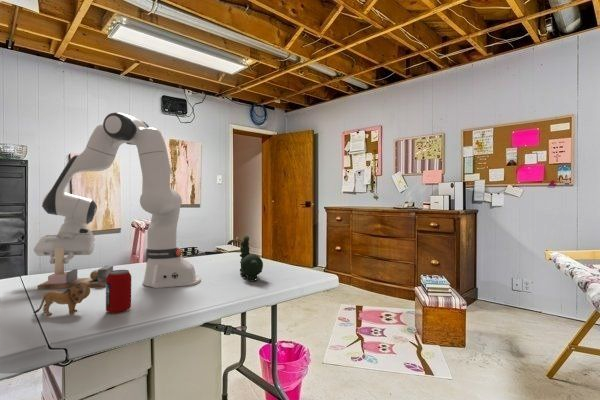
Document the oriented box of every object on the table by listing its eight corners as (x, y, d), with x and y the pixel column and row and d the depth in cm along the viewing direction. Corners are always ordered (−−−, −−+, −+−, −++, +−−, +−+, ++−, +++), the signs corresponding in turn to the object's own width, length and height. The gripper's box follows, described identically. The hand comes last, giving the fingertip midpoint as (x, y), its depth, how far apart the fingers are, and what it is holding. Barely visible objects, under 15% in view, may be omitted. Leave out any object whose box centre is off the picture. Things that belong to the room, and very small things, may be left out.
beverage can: (112, 307, 104) (112, 269, 104) (134, 307, 105) (135, 269, 105) (101, 314, 97) (101, 273, 98) (125, 314, 98) (125, 273, 98)
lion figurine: (92, 308, 103) (93, 279, 103) (86, 314, 98) (87, 283, 98) (37, 312, 99) (38, 282, 99) (28, 318, 94) (28, 286, 94)
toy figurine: (234, 276, 156) (244, 284, 133) (234, 236, 158) (244, 236, 135) (254, 275, 160) (267, 282, 136) (254, 235, 161) (266, 236, 138)
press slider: (77, 278, 135) (78, 246, 135) (68, 283, 127) (69, 249, 128) (58, 279, 134) (58, 246, 134) (47, 284, 126) (48, 249, 126)
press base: (116, 280, 139) (116, 265, 139) (108, 286, 130) (108, 269, 130) (51, 282, 134) (51, 266, 134) (37, 289, 124) (37, 271, 124)
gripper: (39, 230, 135) (24, 258, 125) (95, 230, 139) (85, 257, 130) (44, 240, 139) (31, 268, 130) (98, 239, 144) (89, 266, 134)
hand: (58, 262), depth 130 cm, fingers closed on press slider, 3 cm apart
